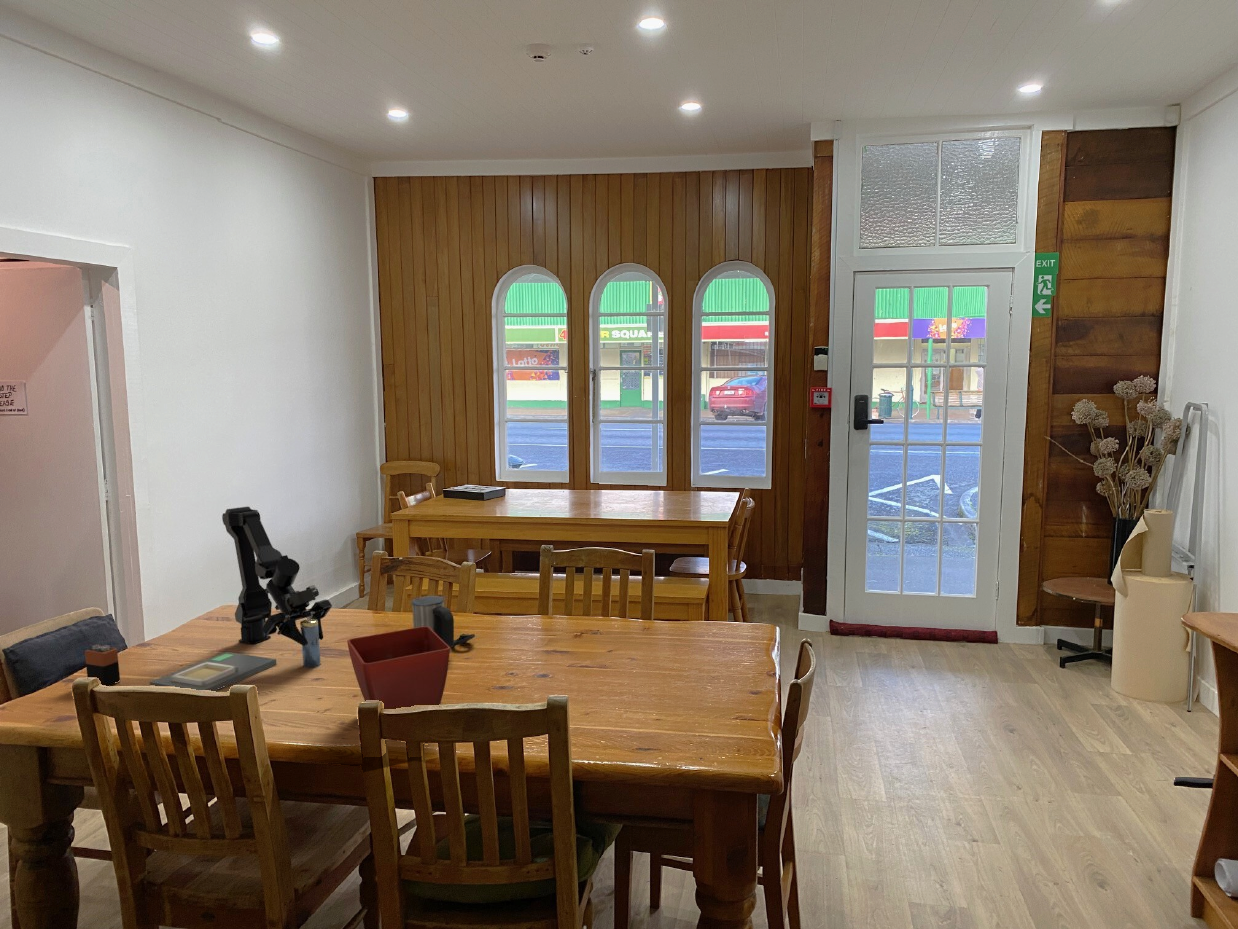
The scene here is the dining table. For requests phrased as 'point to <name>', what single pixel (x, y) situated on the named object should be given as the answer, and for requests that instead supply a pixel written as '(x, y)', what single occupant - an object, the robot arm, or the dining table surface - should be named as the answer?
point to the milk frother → (436, 619)
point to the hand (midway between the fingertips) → (313, 642)
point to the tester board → (216, 672)
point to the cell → (310, 643)
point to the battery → (103, 664)
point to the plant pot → (401, 667)
